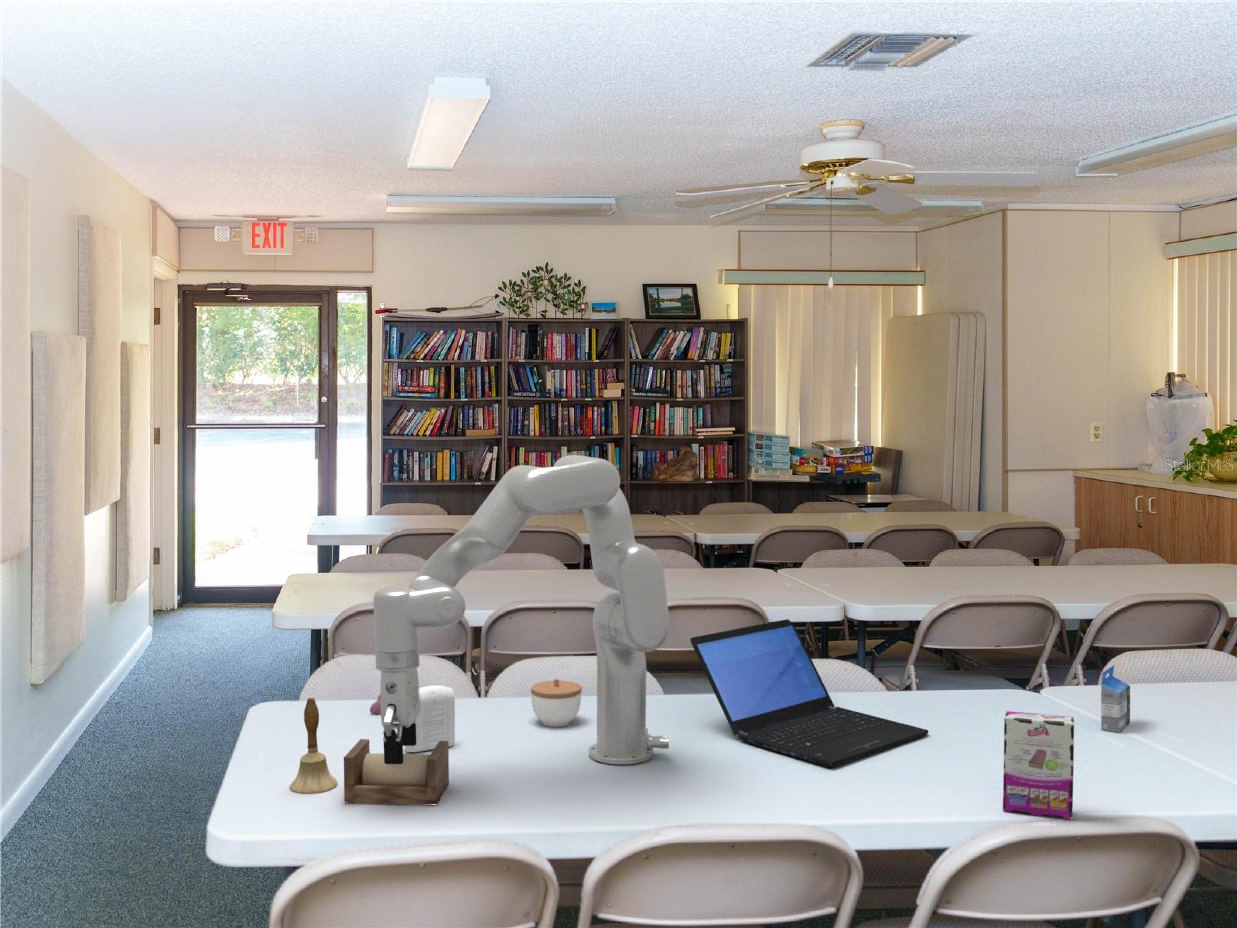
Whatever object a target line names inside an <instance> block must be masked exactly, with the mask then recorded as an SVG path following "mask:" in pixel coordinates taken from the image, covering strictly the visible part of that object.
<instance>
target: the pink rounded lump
mask: <svg viewBox="0 0 1237 928" xmlns="http://www.w3.org/2000/svg"><path fill="white" fill-rule="evenodd" d="M369 713H370V714H371V713H372V714H371V715H378V714H379V715H380V714H381V699H380V694H379V695H378V696H377V700H376V701H375V702H374V703H373V704H372V705H370V708H369Z"/></svg>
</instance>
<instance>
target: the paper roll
mask: <svg viewBox="0 0 1237 928" xmlns="http://www.w3.org/2000/svg"><path fill="white" fill-rule="evenodd" d="M430 754H431V753H430ZM430 754H428V753H427V754H425V753H423V754H422V753H418V754H417V753H403V763H402V764H385V763H384V752H382V753H379V752H377V753H372V752H369V753H367V754H366V756H365V759H364V763H363V771H362V780H363V785H374V786H417V787H427V759H428V757H429V756H430Z"/></svg>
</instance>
